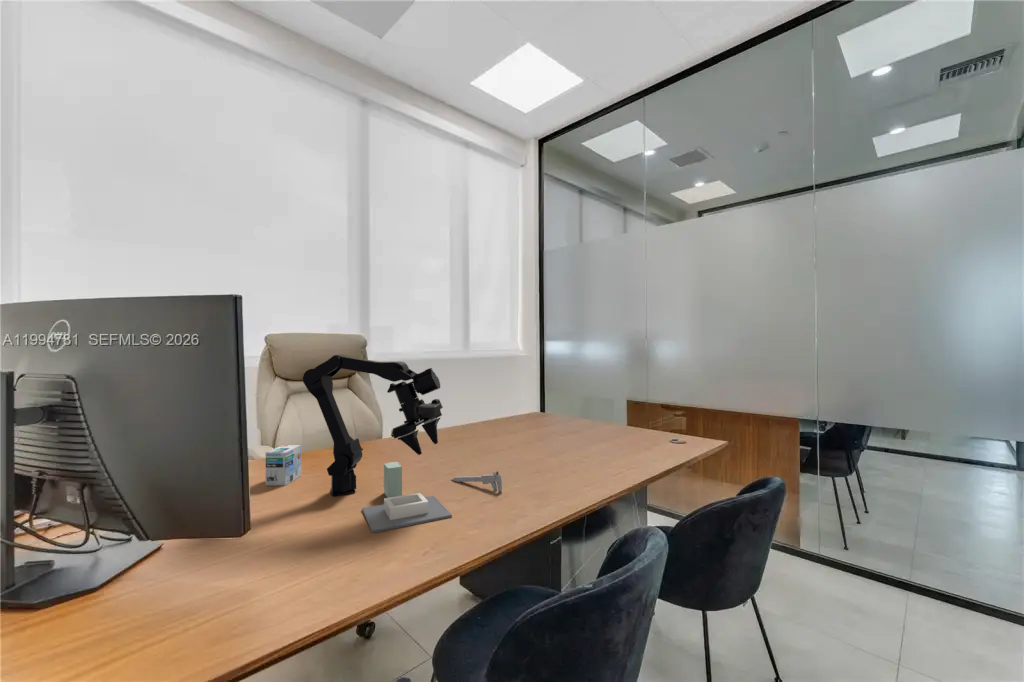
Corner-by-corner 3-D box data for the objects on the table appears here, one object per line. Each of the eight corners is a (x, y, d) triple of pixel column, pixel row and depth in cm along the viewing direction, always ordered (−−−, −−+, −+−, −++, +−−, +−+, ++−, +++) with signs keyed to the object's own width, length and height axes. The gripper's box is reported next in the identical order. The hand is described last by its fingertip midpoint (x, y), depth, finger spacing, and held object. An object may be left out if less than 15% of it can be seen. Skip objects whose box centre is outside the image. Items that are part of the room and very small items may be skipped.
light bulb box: (285, 486, 139) (285, 452, 139) (264, 486, 139) (264, 452, 139) (302, 475, 150) (301, 444, 150) (282, 475, 150) (282, 444, 150)
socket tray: (372, 533, 104) (372, 518, 104) (362, 510, 118) (362, 497, 118) (451, 516, 114) (451, 503, 114) (433, 497, 128) (433, 485, 128)
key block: (388, 499, 127) (388, 468, 127) (384, 493, 132) (383, 463, 132) (402, 497, 128) (401, 466, 128) (397, 490, 134) (397, 461, 134)
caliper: (502, 492, 133) (502, 471, 133) (499, 493, 132) (499, 472, 132) (453, 480, 145) (452, 461, 145) (450, 481, 144) (450, 462, 144)
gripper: (412, 400, 120) (433, 452, 120) (445, 385, 137) (464, 431, 137) (382, 412, 124) (402, 463, 124) (418, 396, 141) (436, 441, 141)
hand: (428, 448), depth 131 cm, fingers open, 9 cm apart
